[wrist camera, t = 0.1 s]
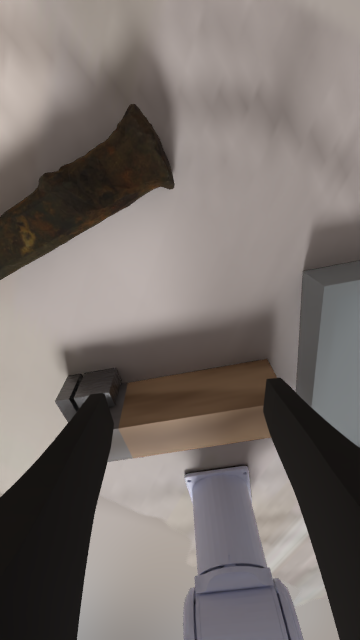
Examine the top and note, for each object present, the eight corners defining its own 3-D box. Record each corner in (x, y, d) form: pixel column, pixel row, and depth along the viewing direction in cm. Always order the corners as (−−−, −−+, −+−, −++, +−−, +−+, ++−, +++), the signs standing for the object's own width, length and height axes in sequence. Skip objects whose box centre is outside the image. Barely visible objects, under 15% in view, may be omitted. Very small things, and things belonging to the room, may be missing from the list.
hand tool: (147, 111, 14) (137, 85, 10) (178, 184, 16) (180, 186, 12) (-87, 257, 18) (-163, 281, 14) (-40, 303, 20) (-95, 336, 16)
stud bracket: (139, 424, 27) (131, 486, 21) (91, 432, 27) (72, 495, 22) (116, 367, 23) (99, 426, 18) (60, 377, 23) (27, 437, 18)
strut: (267, 390, 25) (288, 434, 21) (113, 415, 26) (101, 462, 22) (267, 358, 23) (289, 401, 19) (99, 387, 24) (83, 434, 20)
